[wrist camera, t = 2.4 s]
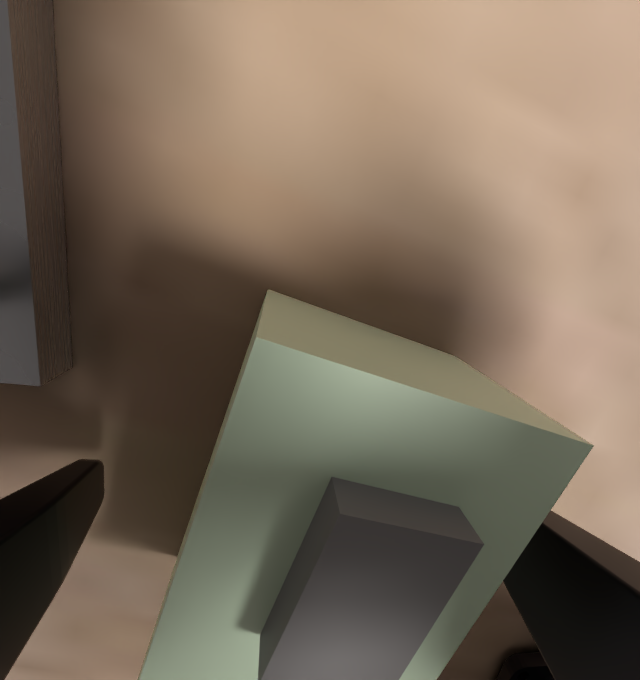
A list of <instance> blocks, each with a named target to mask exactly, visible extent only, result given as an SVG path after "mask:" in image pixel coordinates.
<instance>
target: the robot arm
mask: <svg viewBox="0 0 640 680" xmlns="http://www.w3.org/2000/svg"><path fill="white" fill-rule="evenodd" d="M103 497H104V466H103V463H102V462H101V461H100V460H89V459H81V460H78V461H75V462H73V463H71V464H69V465H67V466H65V467H63V468H61V469H59V470H57V471H55V472H54V473H52V474H50V475H48V476H46V477H44V478H42V479H40V480H38V481H36V482H34V483H32V484H30V485H28V486H26V487H24V488H22V489H20V490H18V491H16V492H14V493H12V494H10V495H8V496H6V497H4V498H2V499H0V680H4V679H5V678H6V676H7V674H8V673H9V671H10V670H11V668H12V666H13V665H14V663H15V661H16V660H17V658H18V656H19V655H20V653H21V651H22V650H23V648H24V646H25V645H26V643H27V641H28V640H29V638H30V636H31V635H32V633H33V632H34V630H35V628H36V627H37V625H38V623H39V622H40V620H41V618H42V617H43V615H44V613H45V612H46V610H47V608H48V607H49V605H50V603H51V602H52V600H53V598H54V597H55V595H56V593H57V592H58V590H59V588H60V586H61V585H62V583H63V581H64V579H65V577H66V575H67V573H68V571H69V569H70V567H71V565H72V563H73V561H74V559H75V557H76V555H77V553H78V551H79V549H80V547H81V545H82V543H83V541H84V539H85V537H86V534H87V532H88V530H89V528H90V526H91V524H92V522H93V520H94V518H95V516H96V514H97V512H98V510H99V508H100V506H101V504H102V501H103ZM503 582H504V584H505V586H506V588H507V590H508V592H509V594H510V596H511V597H512V599H513V601H514V603H515V605H516V607H517V609H518V611H519V613H520V614H521V616H522V618H523V620H524V622H525V624H526V626H527V628H528V630H529V632H530V633H531V635H532V637H533V639H534V641H535V643H536V645H537V647H538V649H539V651H540V652H537V653H519V654H515V655H512V656H510V657H509V658H508V659H507V660H506V661H505V662H504V664H503V666H502V668H501V671H500V673H499V675H498V677H497V679H496V680H640V562H639V561H637V560H635V559H633V558H632V557H630V556H628V555H627V554H625V553H623V552H621V551H620V550H618V549H616V548H615V547H613V546H611V545H609V544H608V543H606V542H604V541H603V540H601V539H599V538H597V537H596V536H594V535H592V534H591V533H589V532H587V531H585V530H584V529H582V528H580V527H578V526H577V525H575V524H573V523H572V522H570V521H568V520H566V519H565V518H563V517H561V516H560V515H558V514H556V513H554V512H553V511H551V510H550V512H549V513H548V515H547V516H546V518H545V519H544V521H543V522H542V523H541V525H540V526H539V528H538V529H537V531H536V532H535V534H534V535H533V537H532V538H531V540H530V541H529V543H528V544H527V546H526V547H525V549H524V550H523V552H522V553H521V555H520V556H519V558H518V559H517V561H516V562H515V564H514V565H513V567H512V568H511V570H510V571H509V573H508V574H507V576H506V577H505V579H504V580H503Z"/></svg>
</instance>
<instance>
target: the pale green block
mask: <svg viewBox="0 0 640 680" xmlns="http://www.w3.org/2000/svg"><path fill="white" fill-rule="evenodd" d="M593 446H594V445H592V444H590V443H589V442H587V441H586V440H584V439H583V438H581V437H580V436H578V435H576V434H575V433H573V432H572V431H570V430H569V429H567V428H566V427H564V426H563V425H561V424H559V423H558V422H556V421H555V420H553V419H552V418H550V417H549V416H547V415H546V414H544V413H542V412H541V411H539V410H538V409H536V408H535V407H533V406H532V405H530V404H529V403H527V402H525V401H524V400H522V399H521V398H519V397H518V396H516V395H515V394H513V393H512V392H510V391H508V390H507V389H505V388H504V387H502V386H501V385H499V384H498V383H496V382H494V381H493V380H491V379H490V378H488V377H487V376H485V375H484V374H482V373H481V372H479V371H477V370H476V369H474V368H473V367H471V366H470V365H468V364H467V363H465V362H464V361H462V360H460V359H459V358H457V357H456V356H454V355H451V354H448V353H445V352H442V351H440V350H437V349H434V348H431V347H429V346H426V345H423V344H420V343H417V342H415V341H412V340H409V339H406V338H403V337H401V336H398V335H395V334H392V333H389V332H387V331H384V330H381V329H378V328H376V327H373V326H370V325H367V324H364V323H362V322H359V321H356V320H353V319H350V318H348V317H345V316H342V315H339V314H336V313H334V312H331V311H328V310H325V309H323V308H320V307H317V306H314V305H311V304H309V303H306V302H303V301H300V300H297V299H295V298H292V297H289V296H286V295H283V294H281V293H278V292H275V291H272V290H270V289H268V290H267V293H266V296H265V299H264V302H263V305H262V308H261V311H260V314H259V317H258V320H257V323H256V326H255V328H254V331H253V334H252V337H251V340H250V343H249V346H248V349H247V352H246V355H245V358H244V361H243V364H242V367H241V370H240V373H239V376H238V379H237V382H236V385H235V388H234V391H233V394H232V397H231V400H230V402H229V405H228V408H227V411H226V414H225V417H224V420H223V423H222V426H221V429H220V432H219V435H218V438H217V441H216V444H215V447H214V450H213V453H212V456H211V459H210V462H209V465H208V468H207V471H206V474H205V476H204V479H203V482H202V485H201V488H200V491H199V494H198V497H197V500H196V503H195V506H194V509H193V512H192V515H191V518H190V521H189V524H188V527H187V530H186V533H185V536H184V539H183V542H182V545H181V547H180V550H179V553H178V556H177V559H176V563H175V566H174V569H173V572H172V575H171V578H170V581H169V584H168V587H167V590H166V593H165V596H164V600H163V603H162V606H161V609H160V612H159V615H158V618H157V621H156V624H155V627H154V630H153V634H152V637H151V640H150V643H149V646H148V649H147V652H146V655H145V658H144V661H143V664H142V668H141V671H140V674H139V677H138V680H437V678H438V677H439V675H440V674H441V672H442V671H443V669H444V668H445V666H446V665H447V663H448V662H449V660H450V659H451V657H452V656H453V654H454V653H455V651H456V650H457V648H458V647H459V645H460V644H461V643H462V641H463V640H464V638H465V637H466V635H467V634H468V632H469V631H470V629H471V628H472V626H473V625H474V623H475V622H476V620H477V619H478V617H479V616H480V614H481V613H482V611H483V610H484V608H485V607H486V605H487V604H488V602H489V601H490V599H491V598H492V596H493V595H494V593H495V592H496V590H497V589H498V587H499V586H500V584H501V583H502V582H503V580H504V579H505V577H506V576H507V574H508V573H509V571H510V570H511V568H512V567H513V565H514V564H515V562H516V561H517V559H518V558H519V556H520V555H521V553H522V552H523V550H524V549H525V547H526V546H527V544H528V543H529V541H530V540H531V538H532V537H533V535H534V534H535V532H536V531H537V529H538V528H539V526H540V525H541V523H542V522H543V521H544V519H545V518H546V516H547V515H548V513H549V512H550V510H551V509H552V507H553V506H554V504H555V503H556V501H557V500H558V498H559V497H560V495H561V494H562V492H563V491H564V489H565V488H566V486H567V485H568V483H569V482H570V480H571V479H572V477H573V476H574V474H575V473H576V471H577V470H578V468H579V467H580V465H581V464H582V462H583V461H584V460H585V458H586V457H587V455H588V454H589V452H590V451H591V449H592V448H593Z"/></svg>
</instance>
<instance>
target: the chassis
mask: <svg viewBox="0 0 640 680" xmlns="http://www.w3.org/2000/svg"><path fill="white" fill-rule="evenodd" d="M72 367H73V364H72V346H71V328H70V310H69V291H68V273H67V255H66V237H65V218H64V200H63V182H62V164H61V145H60V127H59V109H58V91H57V72H56V54H55V36H54V18H53V0H0V383H7V384H19V385H31V386H42V385H43V384H45V383H47V382H48V381H50V380H52V379H53V378H55V377H57V376H58V375H60V374H62V373H63V372H65V371H67V370H68V369H70V368H72Z"/></svg>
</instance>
